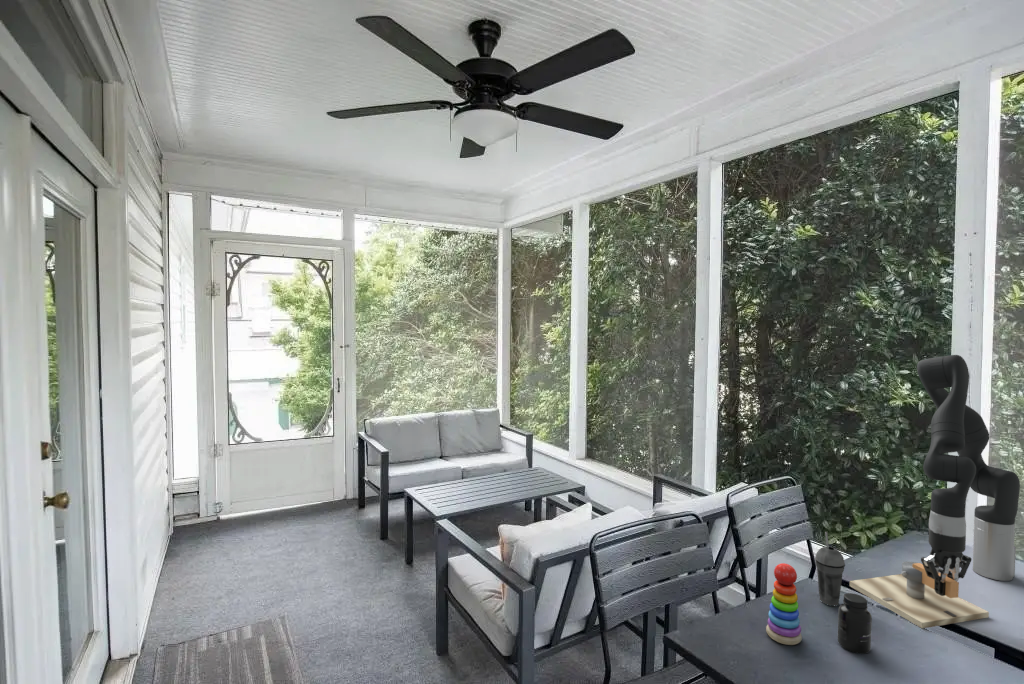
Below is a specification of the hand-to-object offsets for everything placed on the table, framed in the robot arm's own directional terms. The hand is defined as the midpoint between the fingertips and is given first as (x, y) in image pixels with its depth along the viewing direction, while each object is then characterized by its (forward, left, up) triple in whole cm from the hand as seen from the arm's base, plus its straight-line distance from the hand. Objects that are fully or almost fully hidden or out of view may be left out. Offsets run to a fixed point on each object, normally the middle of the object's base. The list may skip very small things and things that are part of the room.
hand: (945, 593), depth 139 cm
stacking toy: (+47, -3, -7) cm, 48 cm away
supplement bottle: (+33, +4, -7) cm, 34 cm away
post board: (-1, -9, -7) cm, 11 cm away
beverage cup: (+23, -14, -7) cm, 28 cm away
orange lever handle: (0, -5, 0) cm, 5 cm away
